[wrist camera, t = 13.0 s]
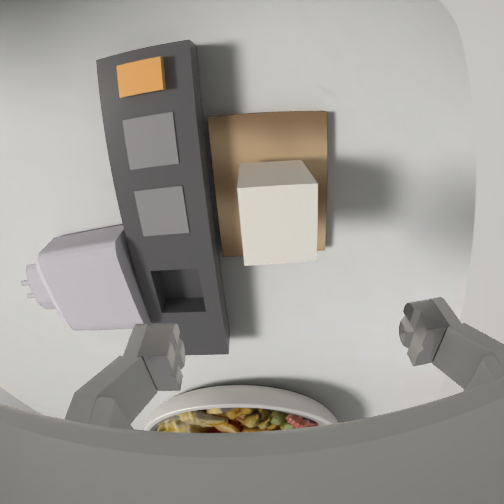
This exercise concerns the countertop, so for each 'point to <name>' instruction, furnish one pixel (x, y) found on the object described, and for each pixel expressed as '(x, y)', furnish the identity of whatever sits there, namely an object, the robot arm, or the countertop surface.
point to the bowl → (238, 411)
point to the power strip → (166, 188)
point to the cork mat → (264, 160)
